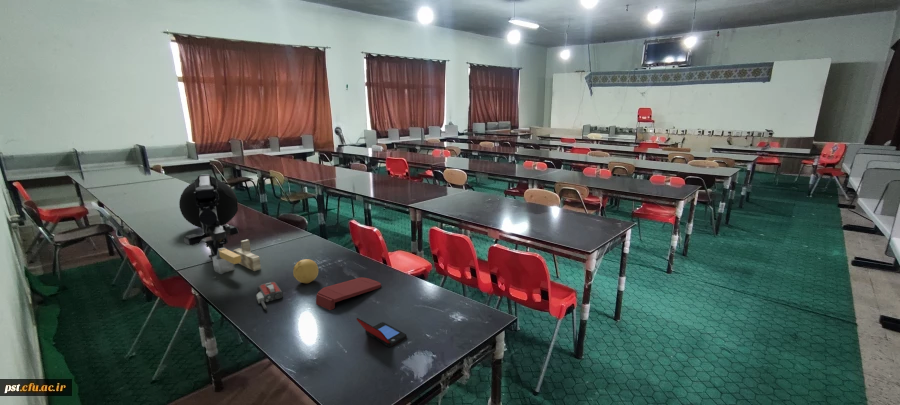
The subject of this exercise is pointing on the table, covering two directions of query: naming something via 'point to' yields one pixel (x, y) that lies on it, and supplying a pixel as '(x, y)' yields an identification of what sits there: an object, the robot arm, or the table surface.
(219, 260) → the jamb post
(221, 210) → the sphere
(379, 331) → the handheld game console
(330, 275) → the table surface
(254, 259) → the grey-beige crossed blocks
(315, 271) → the stress ball
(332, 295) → the dark red long block
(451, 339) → the table surface
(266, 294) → the walkie-talkie
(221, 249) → the bar
